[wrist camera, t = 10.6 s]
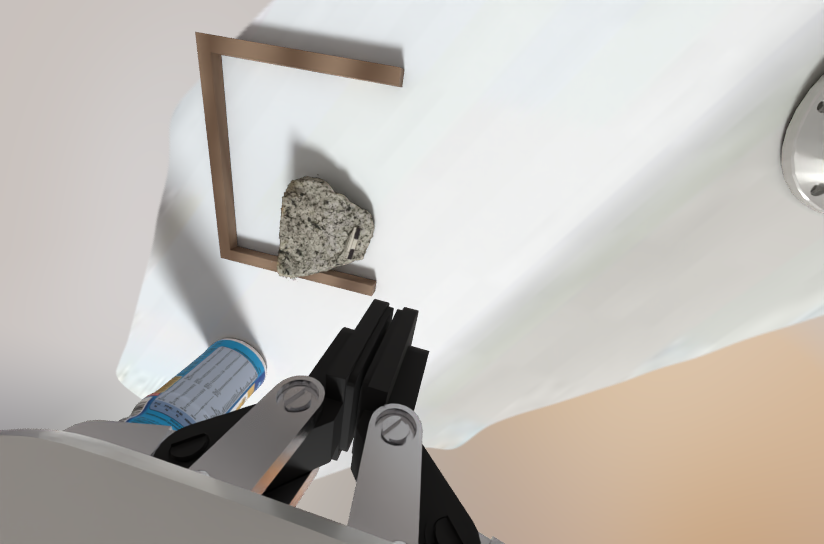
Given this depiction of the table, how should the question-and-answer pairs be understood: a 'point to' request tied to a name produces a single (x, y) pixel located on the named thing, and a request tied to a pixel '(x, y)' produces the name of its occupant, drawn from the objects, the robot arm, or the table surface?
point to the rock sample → (319, 229)
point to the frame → (219, 144)
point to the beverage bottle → (204, 387)
